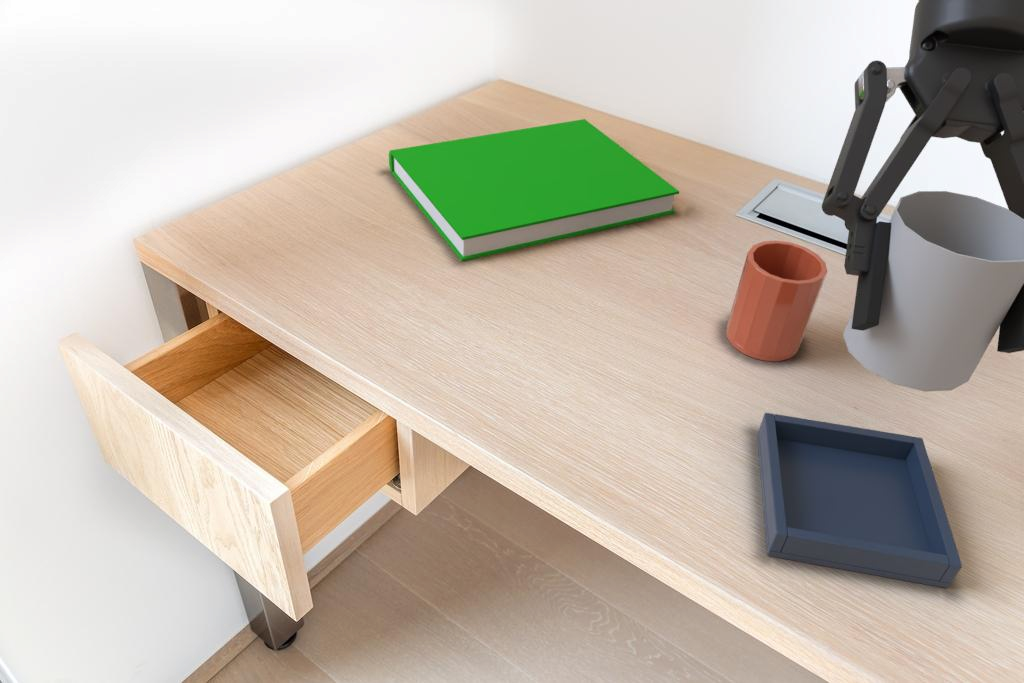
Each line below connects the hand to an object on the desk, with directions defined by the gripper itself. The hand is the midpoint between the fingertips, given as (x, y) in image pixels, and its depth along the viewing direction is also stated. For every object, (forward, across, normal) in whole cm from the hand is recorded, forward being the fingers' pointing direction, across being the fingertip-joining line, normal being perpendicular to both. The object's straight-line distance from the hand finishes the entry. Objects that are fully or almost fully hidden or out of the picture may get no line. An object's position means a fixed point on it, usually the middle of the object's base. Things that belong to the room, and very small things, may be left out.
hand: (938, 338), depth 50 cm
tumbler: (-2, +5, -28) cm, 28 cm away
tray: (+12, 0, -13) cm, 18 cm away
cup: (0, 0, -5) cm, 5 cm away
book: (-18, +32, -44) cm, 58 cm away
